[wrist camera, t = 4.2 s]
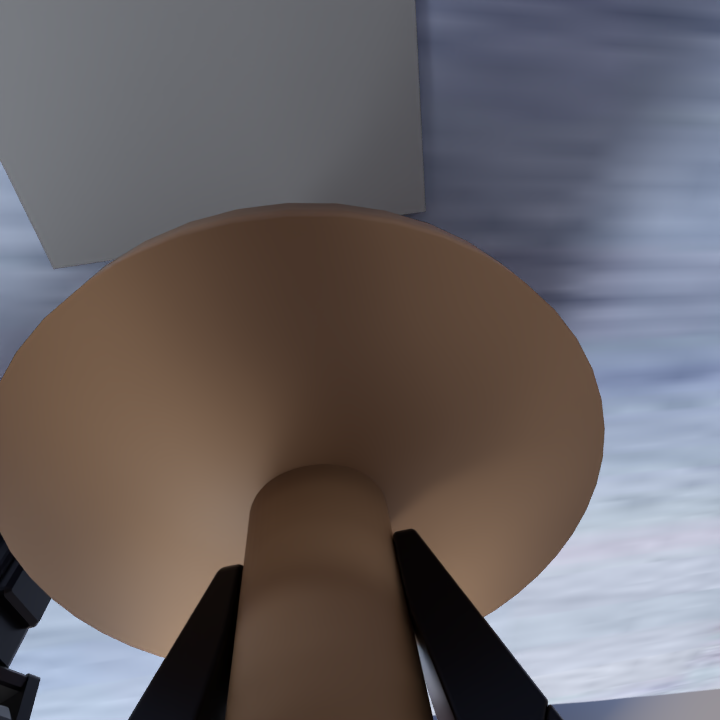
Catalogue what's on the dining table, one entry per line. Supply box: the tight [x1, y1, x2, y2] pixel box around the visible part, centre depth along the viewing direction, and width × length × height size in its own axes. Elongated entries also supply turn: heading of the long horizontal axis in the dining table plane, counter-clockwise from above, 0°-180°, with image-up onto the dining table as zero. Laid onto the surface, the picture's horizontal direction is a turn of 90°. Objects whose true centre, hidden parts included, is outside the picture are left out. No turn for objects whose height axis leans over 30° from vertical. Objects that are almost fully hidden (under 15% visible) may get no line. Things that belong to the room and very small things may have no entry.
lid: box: [0, 203, 605, 720], centre depth 8 cm, size 12×12×6 cm
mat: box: [0, 0, 426, 269], centre depth 14 cm, size 14×14×1 cm
